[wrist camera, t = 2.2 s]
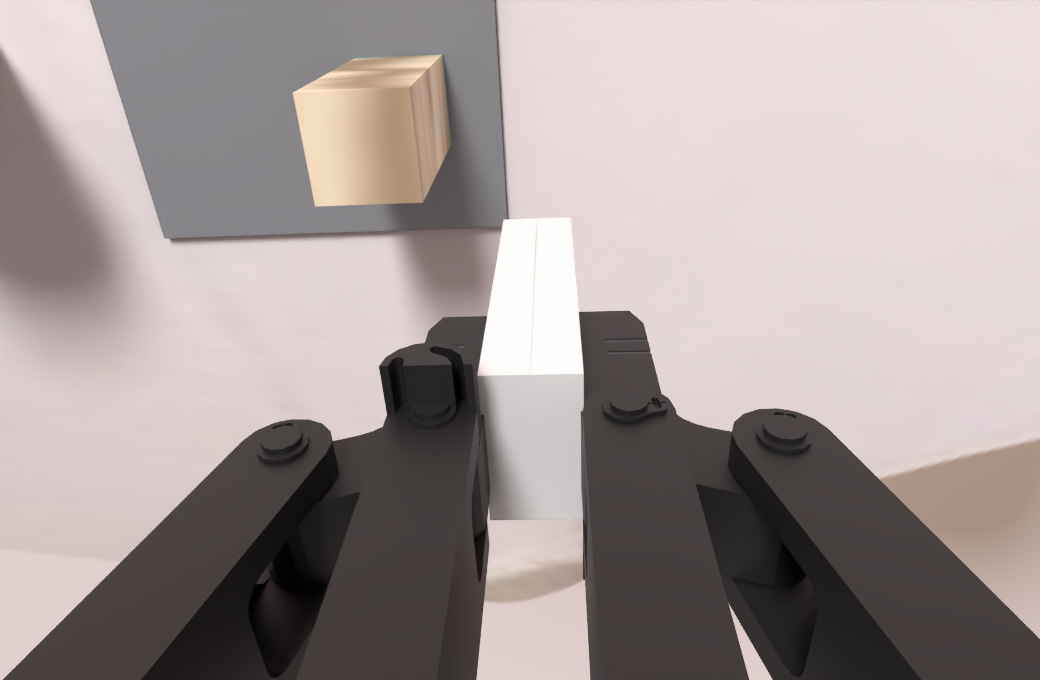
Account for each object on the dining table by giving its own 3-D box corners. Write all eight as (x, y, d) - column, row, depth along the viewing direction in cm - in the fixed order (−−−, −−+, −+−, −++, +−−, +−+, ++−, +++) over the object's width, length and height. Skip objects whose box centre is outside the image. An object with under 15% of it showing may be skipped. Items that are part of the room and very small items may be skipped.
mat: (167, 235, 41) (164, 238, 40) (53, -134, 32) (47, -135, 32) (507, 224, 40) (507, 226, 39) (485, -161, 31) (484, -162, 31)
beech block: (368, 147, 37) (315, 206, 29) (354, 58, 35) (292, 92, 26) (451, 143, 37) (422, 202, 28) (442, 54, 35) (409, 87, 26)
